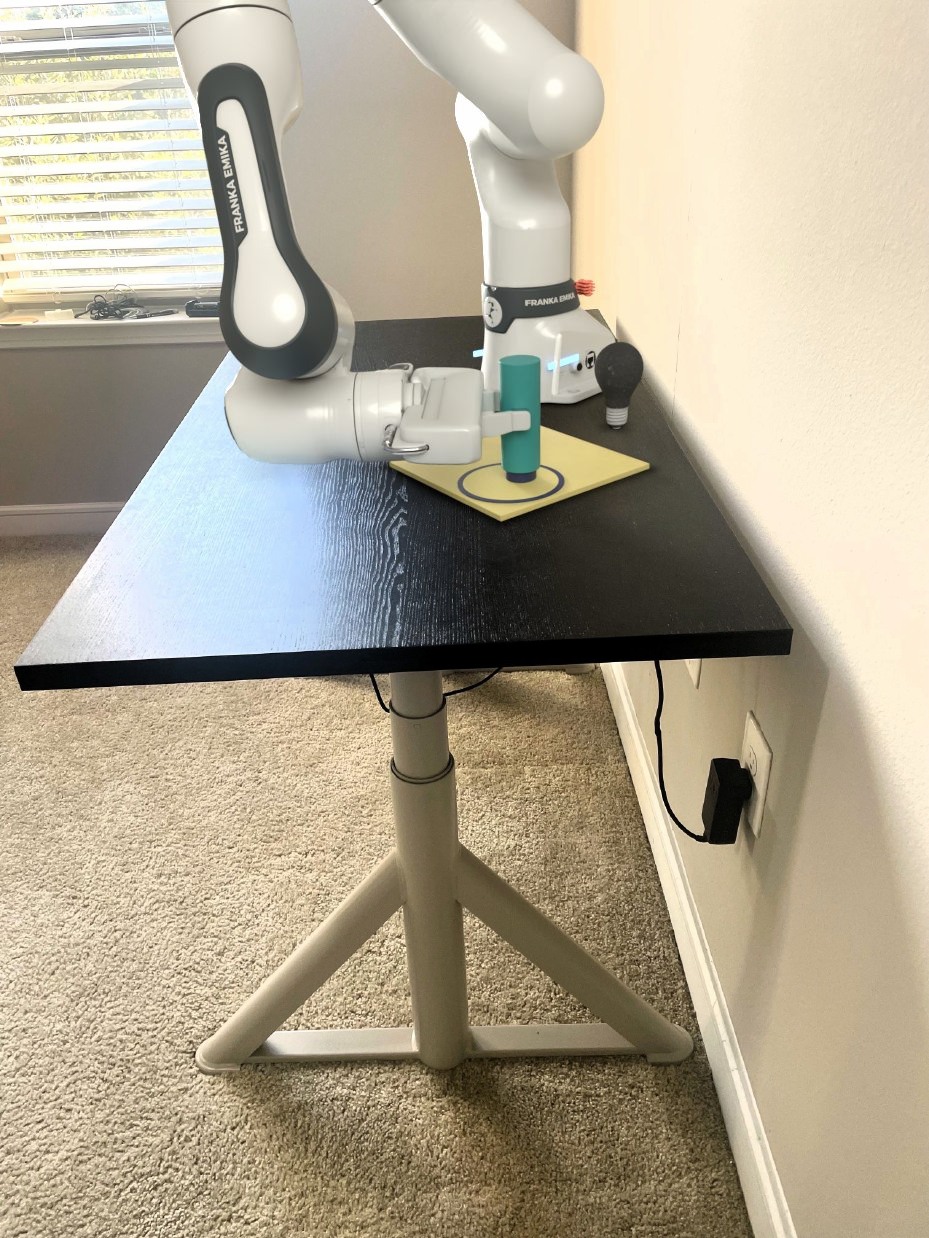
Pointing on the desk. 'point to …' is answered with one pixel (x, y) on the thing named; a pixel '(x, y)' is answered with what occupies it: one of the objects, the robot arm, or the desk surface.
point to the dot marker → (521, 392)
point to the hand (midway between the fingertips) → (529, 410)
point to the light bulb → (618, 379)
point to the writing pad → (559, 477)
